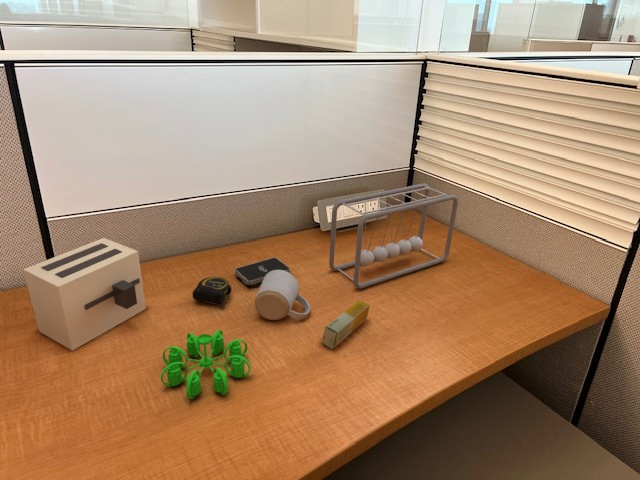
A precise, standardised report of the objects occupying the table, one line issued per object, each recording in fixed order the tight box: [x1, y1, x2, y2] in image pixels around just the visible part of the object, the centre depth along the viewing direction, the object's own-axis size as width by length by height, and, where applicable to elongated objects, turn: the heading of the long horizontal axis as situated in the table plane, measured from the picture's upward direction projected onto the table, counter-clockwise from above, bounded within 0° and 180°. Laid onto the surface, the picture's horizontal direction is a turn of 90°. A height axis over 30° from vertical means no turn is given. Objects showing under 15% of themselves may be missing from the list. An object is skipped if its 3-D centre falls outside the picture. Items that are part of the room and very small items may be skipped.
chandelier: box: [160, 329, 251, 400], centre depth 79 cm, size 15×15×7 cm
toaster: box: [23, 237, 146, 351], centre depth 89 cm, size 10×16×13 cm, turn 149°
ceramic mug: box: [254, 270, 311, 321], centre depth 95 cm, size 11×8×8 cm
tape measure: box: [192, 276, 232, 306], centre depth 100 cm, size 7×7×4 cm
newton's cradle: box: [328, 183, 459, 290], centre depth 113 cm, size 30×10×18 cm, turn 124°
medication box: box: [321, 299, 371, 350], centre depth 91 cm, size 12×3×4 cm, turn 144°
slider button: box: [112, 280, 137, 309], centre depth 88 cm, size 3×2×4 cm
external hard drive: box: [234, 257, 291, 288], centre depth 109 cm, size 7×11×2 cm, turn 126°
